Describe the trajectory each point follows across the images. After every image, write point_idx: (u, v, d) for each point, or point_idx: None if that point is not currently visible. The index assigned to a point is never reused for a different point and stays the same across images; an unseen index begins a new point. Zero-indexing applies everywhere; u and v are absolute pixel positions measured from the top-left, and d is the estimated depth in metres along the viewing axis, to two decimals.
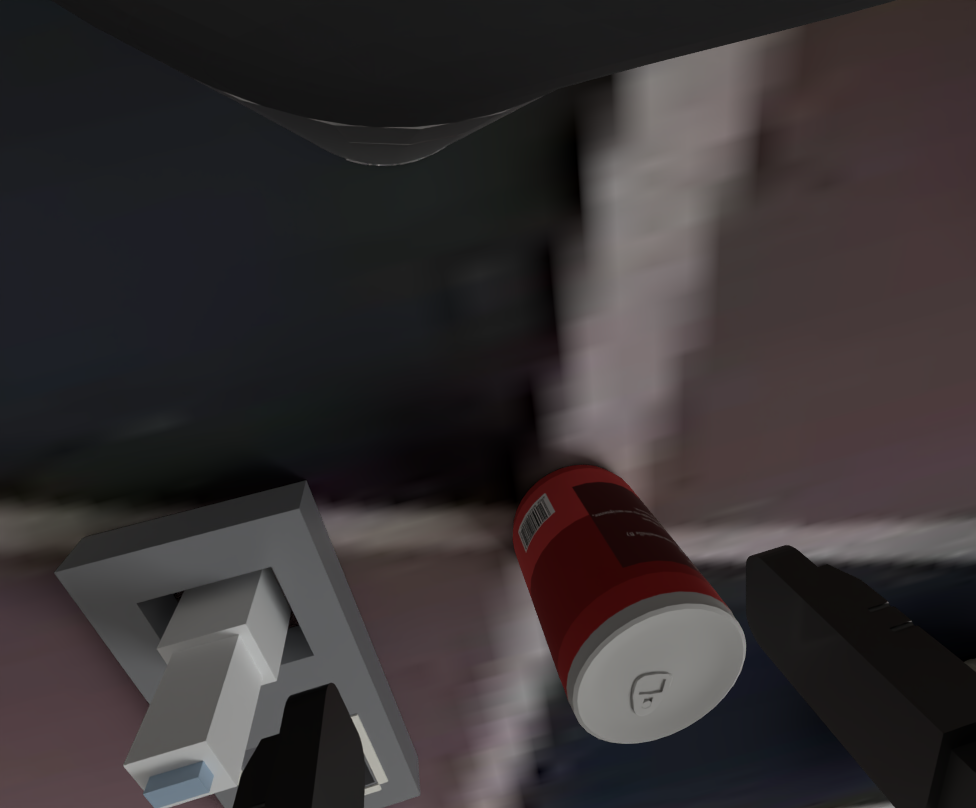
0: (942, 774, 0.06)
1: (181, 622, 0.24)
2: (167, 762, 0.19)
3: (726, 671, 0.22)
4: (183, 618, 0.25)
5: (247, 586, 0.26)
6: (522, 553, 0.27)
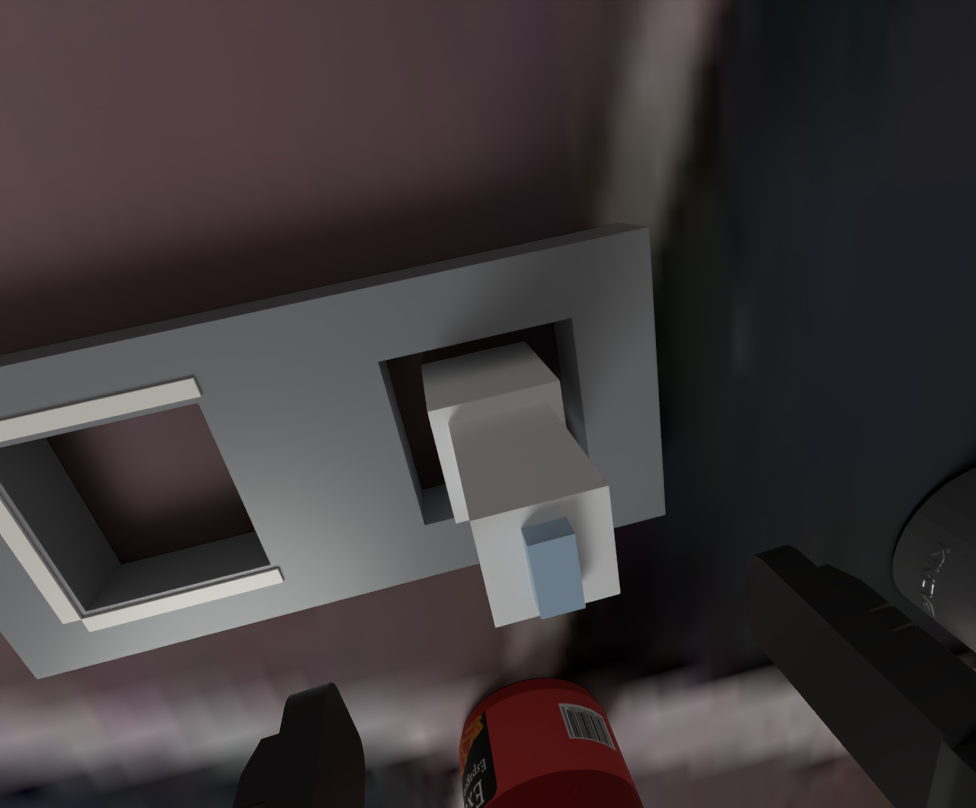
0: (942, 774, 0.06)
1: None
2: (591, 543, 0.11)
3: None
4: None
5: None
6: (557, 728, 0.23)
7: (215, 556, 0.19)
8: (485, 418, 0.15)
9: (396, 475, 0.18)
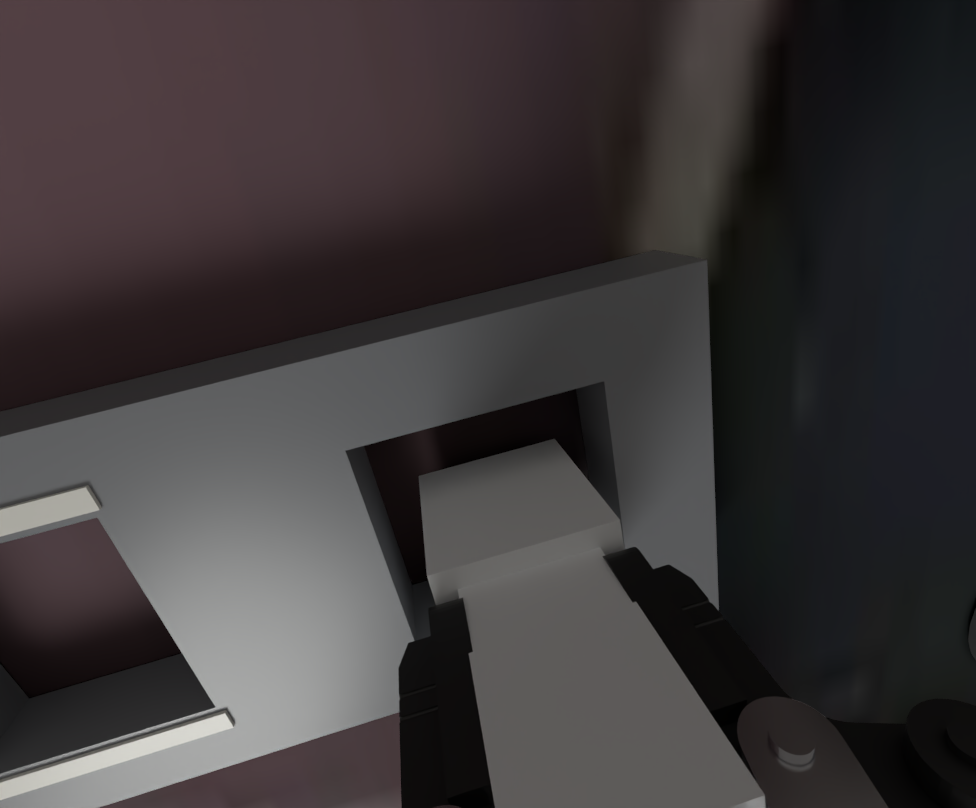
0: None
1: None
2: None
3: None
4: None
5: None
6: None
7: (147, 689, 0.15)
8: (513, 583, 0.10)
9: (376, 589, 0.14)
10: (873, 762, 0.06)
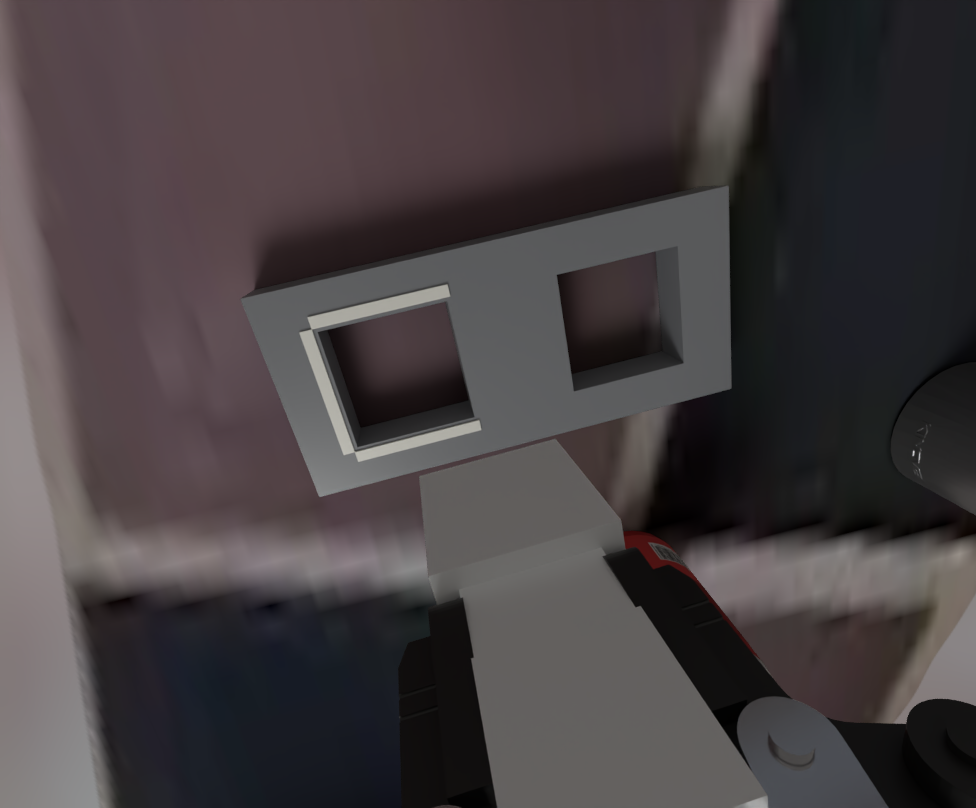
0: None
1: None
2: None
3: None
4: None
5: None
6: (650, 554, 0.33)
7: (429, 418, 0.29)
8: (514, 583, 0.10)
9: (559, 354, 0.27)
10: (874, 762, 0.06)
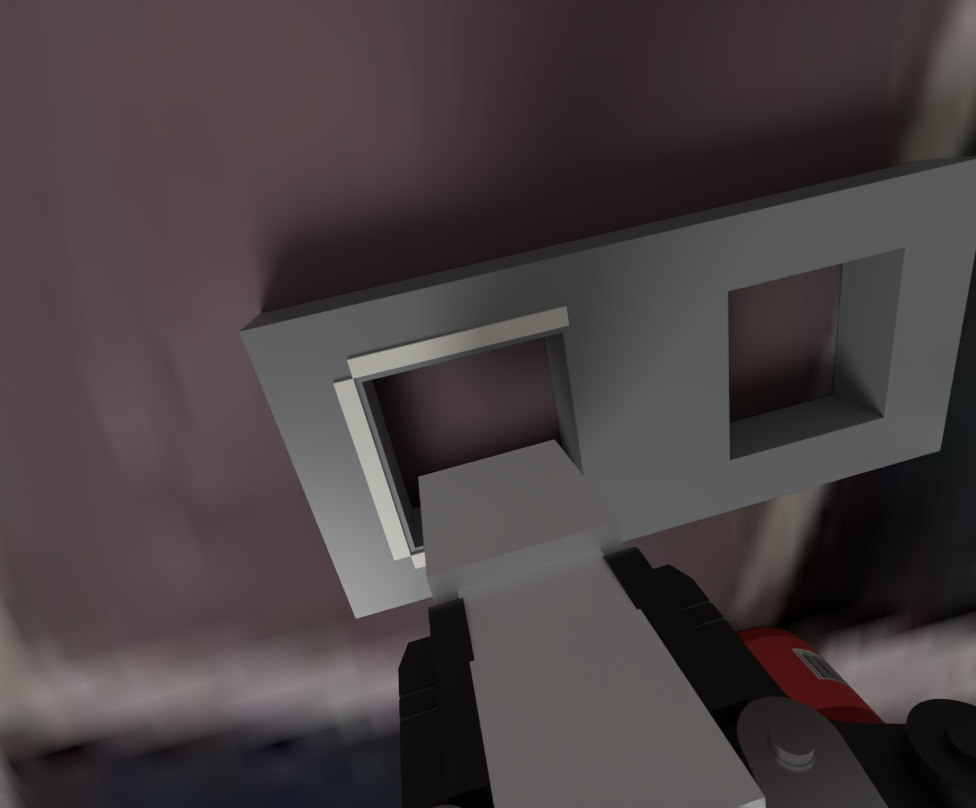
0: None
1: None
2: None
3: None
4: None
5: None
6: (802, 670, 0.24)
7: None
8: (513, 585, 0.10)
9: (717, 408, 0.18)
10: (873, 762, 0.06)
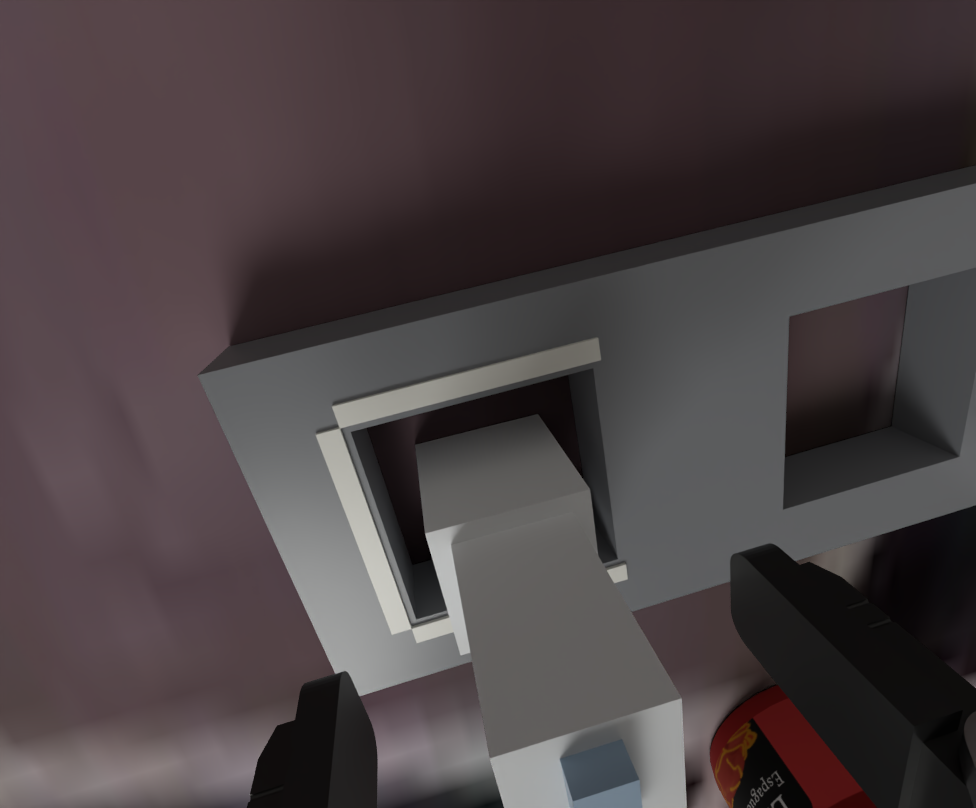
0: (914, 767, 0.07)
1: None
2: (653, 764, 0.08)
3: None
4: None
5: None
6: None
7: None
8: (497, 540, 0.12)
9: (770, 451, 0.15)
10: None
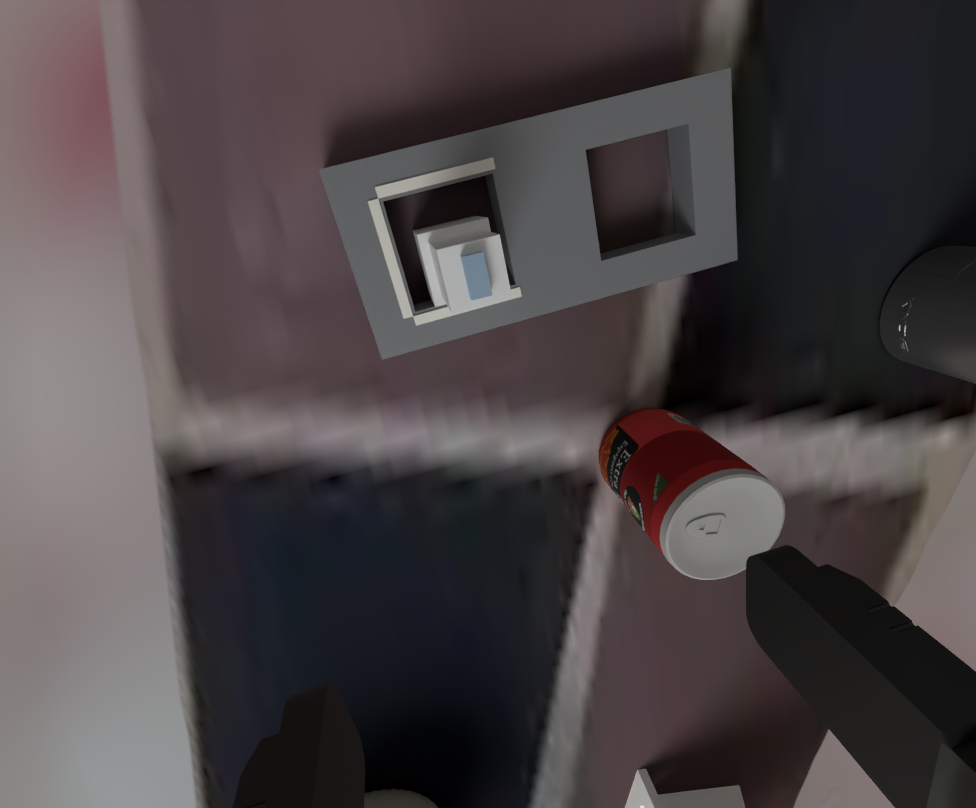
0: (942, 774, 0.06)
1: None
2: (494, 266, 0.24)
3: (712, 570, 0.32)
4: None
5: None
6: (670, 419, 0.37)
7: None
8: (447, 237, 0.28)
9: (588, 225, 0.31)
10: None
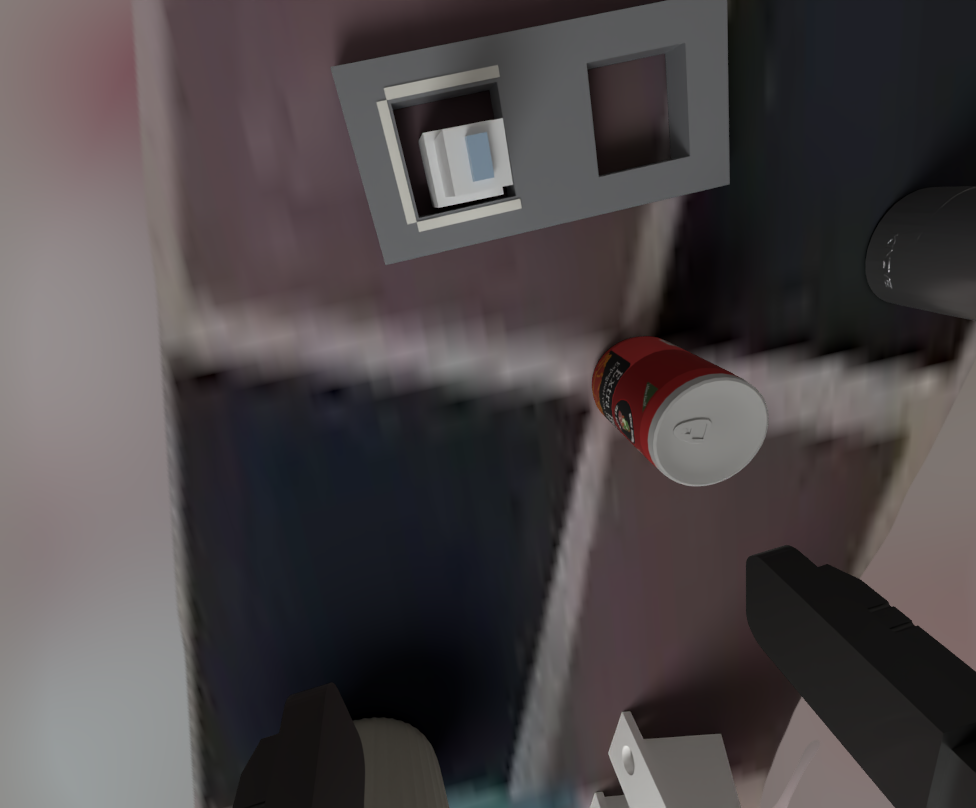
0: (942, 774, 0.06)
1: None
2: (497, 151, 0.25)
3: (698, 477, 0.33)
4: None
5: None
6: (661, 343, 0.38)
7: (476, 204, 0.34)
8: None
9: (587, 139, 0.32)
10: None
